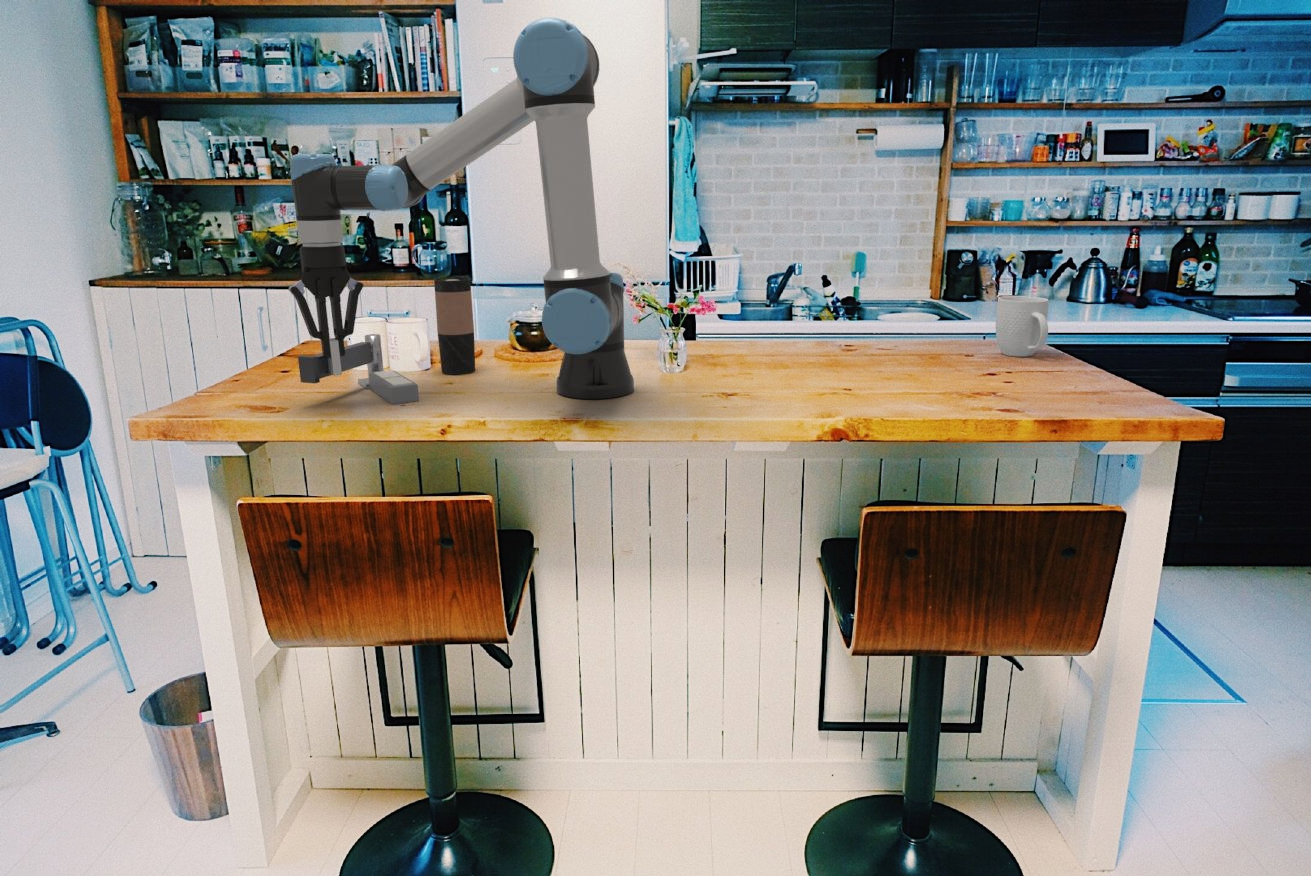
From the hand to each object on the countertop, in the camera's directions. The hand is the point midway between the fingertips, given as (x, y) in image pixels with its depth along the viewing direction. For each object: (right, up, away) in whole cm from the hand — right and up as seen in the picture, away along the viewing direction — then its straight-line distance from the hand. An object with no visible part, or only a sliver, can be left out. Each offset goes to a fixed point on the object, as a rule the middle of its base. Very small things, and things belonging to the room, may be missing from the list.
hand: (336, 374), depth 165 cm
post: (+2, -1, +17) cm, 17 cm away
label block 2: (+10, -4, +4) cm, 12 cm away
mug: (+144, +7, +42) cm, 151 cm away
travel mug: (+17, +2, +28) cm, 33 cm away
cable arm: (-1, +1, +5) cm, 5 cm away
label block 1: (+7, -3, +10) cm, 12 cm away
